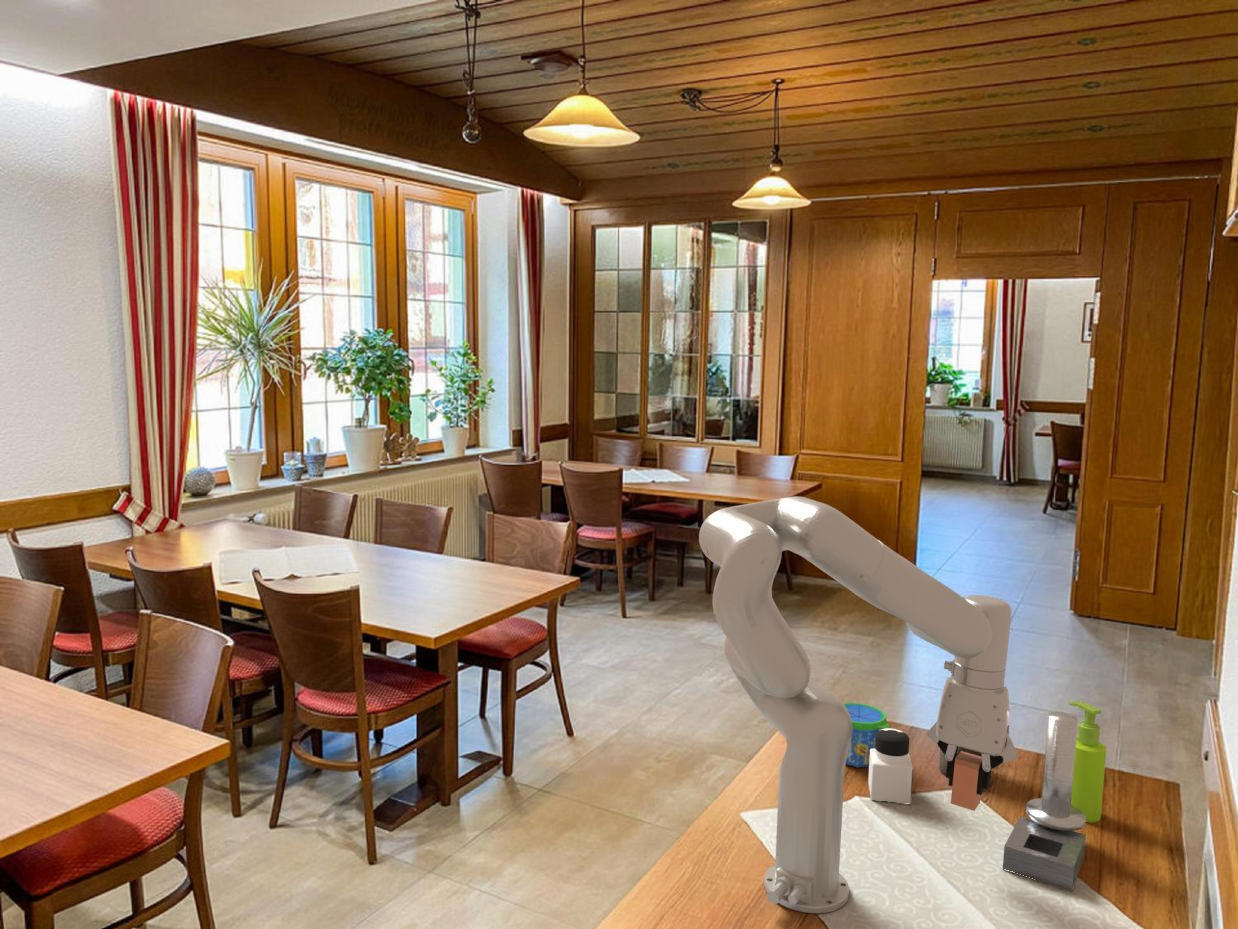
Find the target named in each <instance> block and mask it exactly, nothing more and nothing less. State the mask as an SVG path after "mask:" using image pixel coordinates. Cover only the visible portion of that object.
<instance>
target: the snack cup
mask: <svg viewBox="0 0 1238 929" xmlns="http://www.w3.org/2000/svg"><path fill="white" fill-rule="evenodd" d="M843 704H844V705H845V707H846V708H847V710H848V712H849V714H850V717H851V720H852V727H853V731H852V739H851V743H850V747H849V750H848V754H847V759H846V764H845V765H848V766H853V767H855V768H857V769H858V768H861V767H862V768H867V767H868V768H869V759H870V749H875V734H876V732H877V731H879V730H881V729H887V728H891V729H893V728H892V727H891V725H890V724H889V722H888V721H887V714H886V713H885V712H884V711H883V710H882V709H880V708H878V707H875V706H874V705H873V706H872V705H870V704H864V703H858V702H843Z"/></svg>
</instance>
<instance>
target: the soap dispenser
mask: <svg viewBox="0 0 1238 929" xmlns="http://www.w3.org/2000/svg"><path fill="white" fill-rule="evenodd" d="M1068 704H1069V706H1072V707H1075V708H1079V709H1081V710H1083V711H1084V719H1083V721H1080V722H1078V725H1077V737H1076V749H1075V761H1074V774H1073V786H1072V798H1071V805H1073V806H1075V807H1076V808H1078V809H1080V810H1081V811H1082V812H1083V813H1084V815H1085V817H1086V820H1085V823H1097V822H1099V821H1100V820H1101V816H1102V806H1103V805H1102V804H1103V794H1104V782H1105V781H1104V780H1105V771H1106V770H1105V768H1106V759H1107V758H1106V756H1107V746H1106V745H1105V744H1104V743H1102V742H1100V732H1101V726H1100V725H1098V724H1097V723H1096V716H1097V715H1100V714H1102V710H1101V709H1100V708H1098V707H1096V706H1094V705H1093V704H1090V703H1088V702H1085V701H1080V700H1074V701H1069V702H1068Z"/></svg>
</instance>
